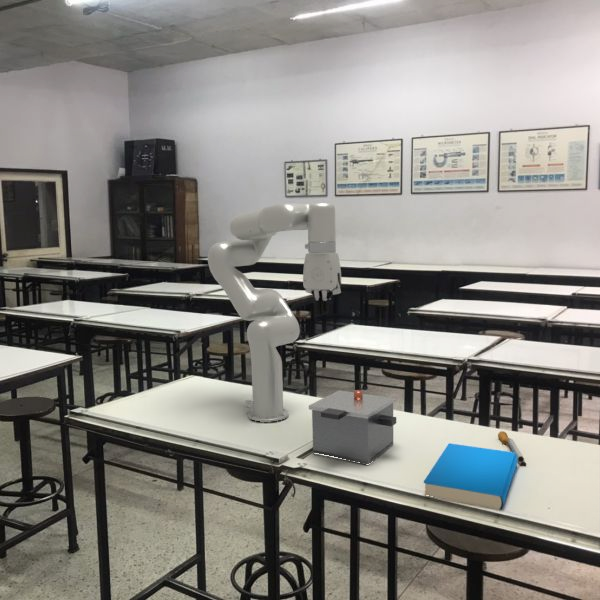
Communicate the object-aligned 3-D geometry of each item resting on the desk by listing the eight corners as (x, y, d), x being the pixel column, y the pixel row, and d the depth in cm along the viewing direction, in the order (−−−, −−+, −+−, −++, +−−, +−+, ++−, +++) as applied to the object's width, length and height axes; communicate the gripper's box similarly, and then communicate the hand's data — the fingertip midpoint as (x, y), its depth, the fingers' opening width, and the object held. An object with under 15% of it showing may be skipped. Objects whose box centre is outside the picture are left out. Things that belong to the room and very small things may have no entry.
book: (423, 481, 135) (447, 441, 157) (423, 499, 136) (447, 457, 158) (504, 494, 128) (517, 451, 150) (504, 514, 128) (517, 467, 151)
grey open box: (313, 454, 161) (312, 410, 160) (341, 435, 175) (340, 394, 173) (381, 468, 151) (381, 421, 149) (405, 447, 164) (405, 403, 163)
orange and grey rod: (495, 432, 169) (506, 428, 169) (500, 442, 169) (510, 438, 169) (511, 459, 150) (522, 455, 150) (515, 470, 151) (527, 465, 150)
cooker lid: (300, 413, 155) (300, 401, 155) (339, 393, 173) (338, 383, 173) (360, 423, 147) (360, 411, 146) (394, 401, 164) (394, 390, 164)
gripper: (291, 249, 169) (293, 314, 171) (339, 249, 161) (340, 318, 163) (305, 247, 175) (307, 310, 177) (352, 247, 167) (353, 314, 170)
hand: (323, 314), depth 170 cm, fingers closed
